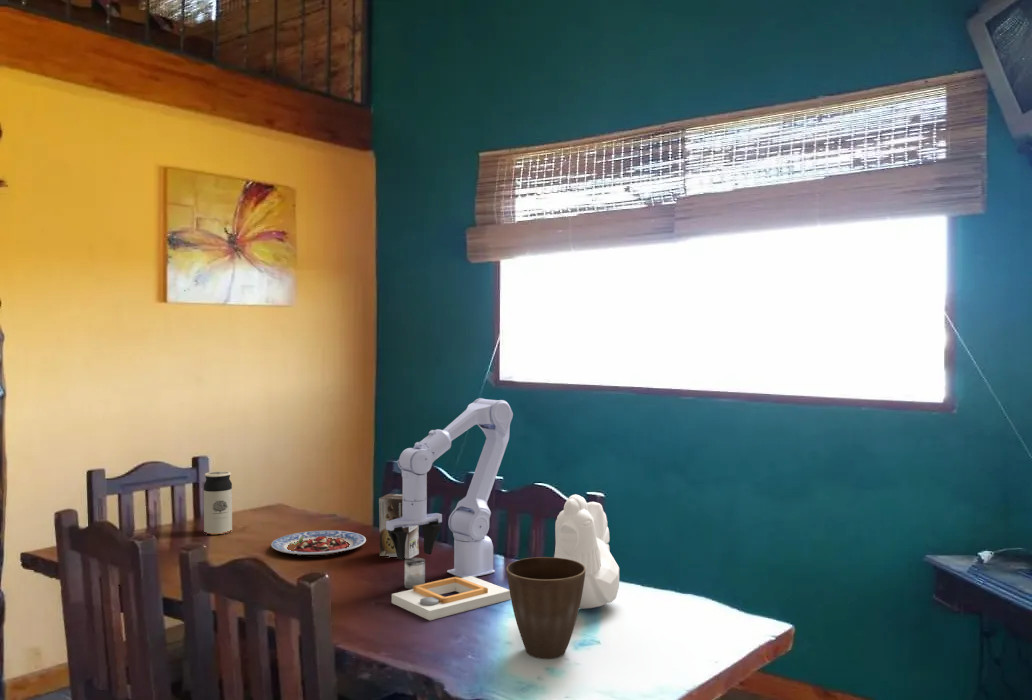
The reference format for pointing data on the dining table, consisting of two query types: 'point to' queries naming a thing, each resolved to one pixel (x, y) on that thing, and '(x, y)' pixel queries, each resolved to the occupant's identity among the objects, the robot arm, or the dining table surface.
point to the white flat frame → (449, 597)
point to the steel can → (414, 572)
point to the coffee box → (394, 509)
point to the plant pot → (546, 602)
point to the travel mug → (217, 502)
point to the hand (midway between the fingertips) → (414, 556)
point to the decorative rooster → (588, 549)
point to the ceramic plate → (319, 542)
